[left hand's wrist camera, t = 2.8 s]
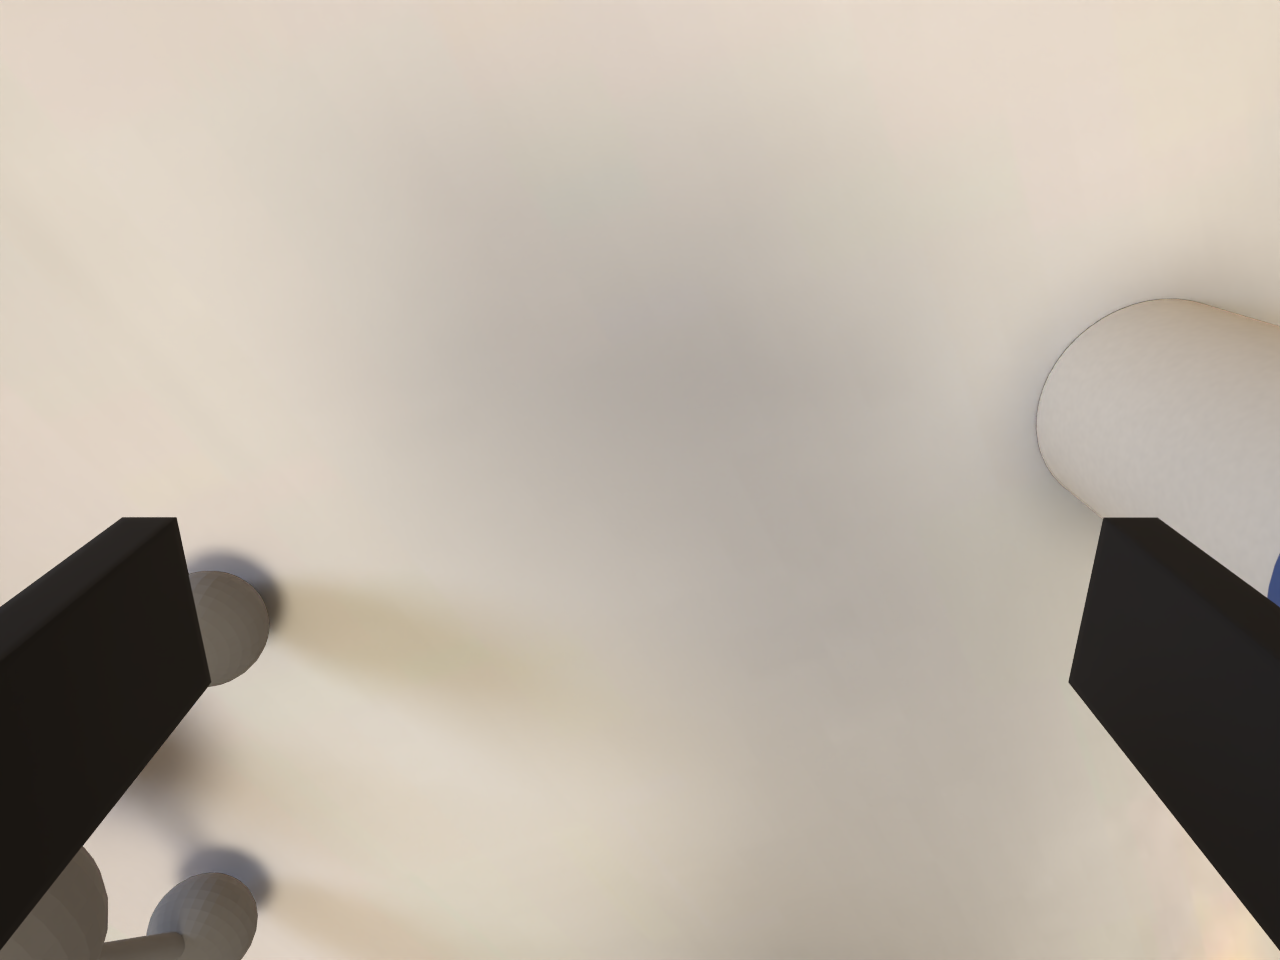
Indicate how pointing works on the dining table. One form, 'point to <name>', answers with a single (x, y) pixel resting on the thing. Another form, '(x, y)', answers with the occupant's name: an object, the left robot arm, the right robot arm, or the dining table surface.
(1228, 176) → the dining table surface
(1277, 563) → the lid
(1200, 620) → the left robot arm
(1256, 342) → the jar
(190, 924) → the molecular model
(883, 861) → the dining table surface
